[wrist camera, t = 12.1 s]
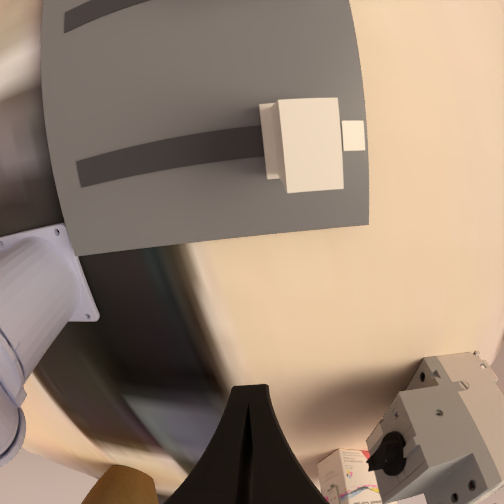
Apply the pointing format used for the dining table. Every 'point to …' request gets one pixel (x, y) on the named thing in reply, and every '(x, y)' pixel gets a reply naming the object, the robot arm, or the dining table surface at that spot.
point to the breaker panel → (192, 117)
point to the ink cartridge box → (348, 478)
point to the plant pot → (123, 488)
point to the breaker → (303, 143)
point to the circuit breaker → (442, 434)
